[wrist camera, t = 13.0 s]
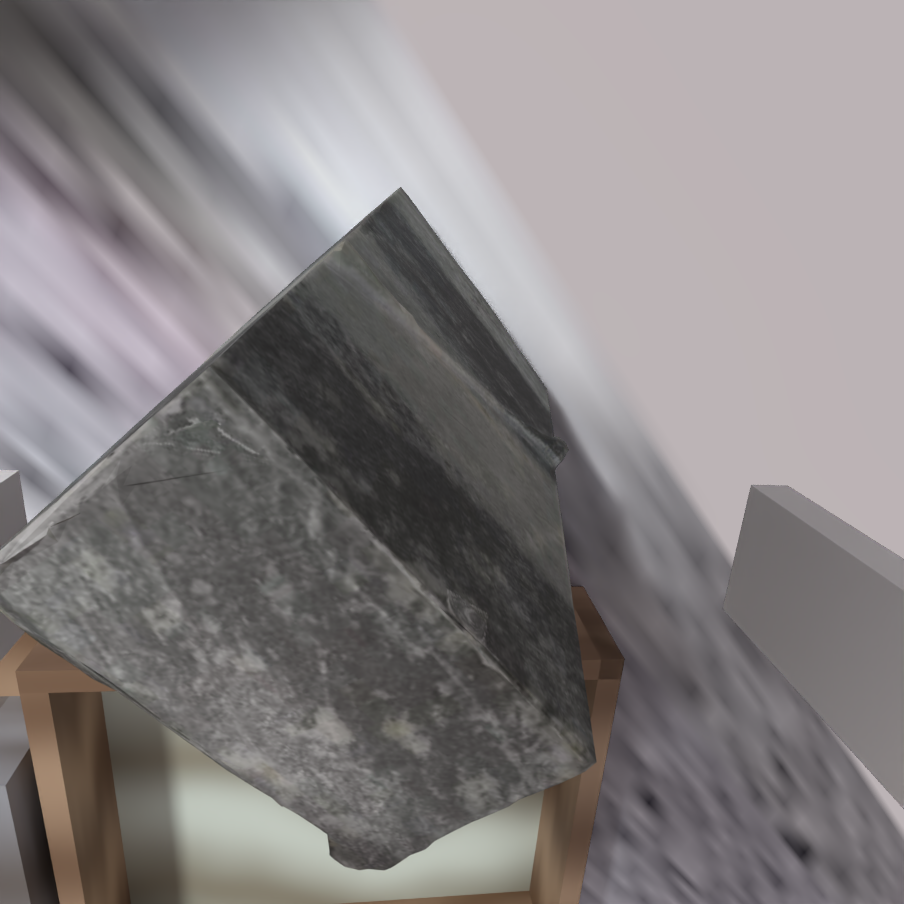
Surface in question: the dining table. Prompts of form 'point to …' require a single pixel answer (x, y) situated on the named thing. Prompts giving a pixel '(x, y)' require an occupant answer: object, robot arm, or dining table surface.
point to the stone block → (336, 556)
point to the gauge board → (245, 809)
